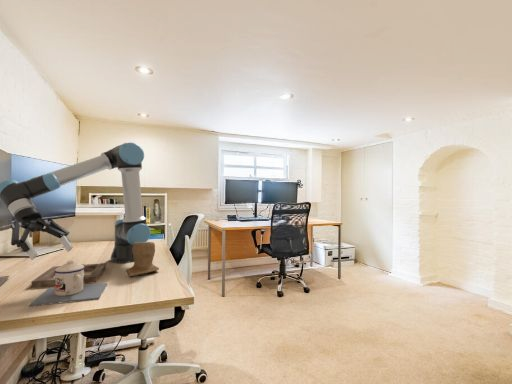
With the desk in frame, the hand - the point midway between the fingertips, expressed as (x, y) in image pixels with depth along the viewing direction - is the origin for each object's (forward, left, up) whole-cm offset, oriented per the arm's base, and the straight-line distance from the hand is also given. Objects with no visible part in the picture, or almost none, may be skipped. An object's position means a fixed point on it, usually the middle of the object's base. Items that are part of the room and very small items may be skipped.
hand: (53, 253), depth 99 cm
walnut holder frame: (-2, -17, -14) cm, 22 cm away
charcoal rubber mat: (-8, +6, -14) cm, 18 cm away
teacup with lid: (-8, +6, -14) cm, 17 cm away
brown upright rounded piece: (-30, -15, -15) cm, 37 cm away
